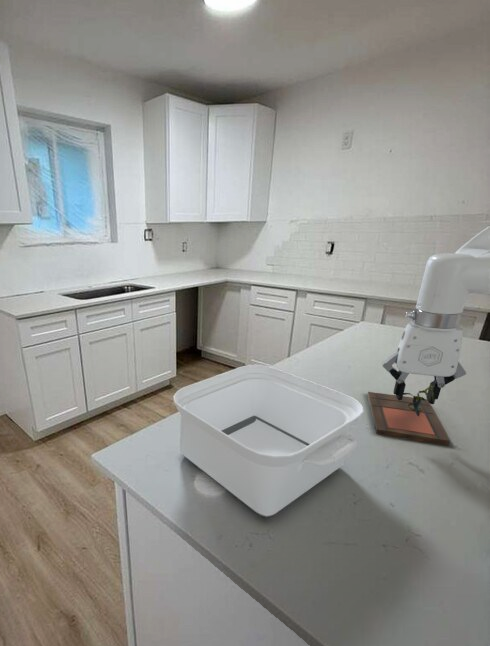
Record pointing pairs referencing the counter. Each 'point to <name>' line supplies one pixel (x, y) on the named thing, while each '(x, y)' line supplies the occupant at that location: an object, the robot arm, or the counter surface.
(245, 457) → the white storage bin
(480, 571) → the counter surface
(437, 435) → the board
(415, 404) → the dark green branching piece
